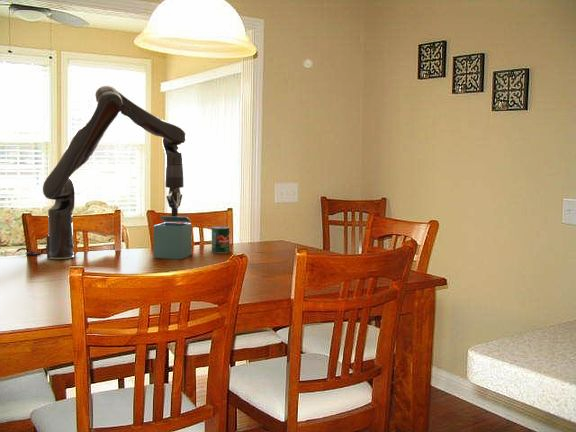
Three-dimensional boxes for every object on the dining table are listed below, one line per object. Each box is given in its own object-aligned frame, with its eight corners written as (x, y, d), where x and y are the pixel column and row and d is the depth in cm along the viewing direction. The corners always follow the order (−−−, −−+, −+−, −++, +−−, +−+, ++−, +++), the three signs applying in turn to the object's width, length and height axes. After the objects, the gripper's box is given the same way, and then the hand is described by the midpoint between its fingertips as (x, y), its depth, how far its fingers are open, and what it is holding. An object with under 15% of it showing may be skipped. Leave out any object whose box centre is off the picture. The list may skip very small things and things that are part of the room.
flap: (159, 216, 253) (159, 215, 253) (164, 221, 258) (164, 220, 259) (186, 217, 251) (187, 216, 251) (191, 222, 256) (191, 221, 257)
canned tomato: (223, 253, 261) (223, 228, 260) (208, 252, 264) (207, 227, 263) (232, 251, 268) (232, 226, 267) (217, 250, 271) (217, 225, 270)
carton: (154, 258, 248) (153, 225, 247) (164, 253, 260) (164, 222, 259) (181, 259, 246) (181, 226, 245) (191, 254, 258) (191, 223, 257)
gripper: (177, 176, 245) (177, 219, 247) (188, 175, 258) (188, 216, 260) (160, 176, 247) (160, 218, 248) (171, 175, 260) (171, 215, 261)
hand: (174, 217), depth 254 cm, fingers closed
